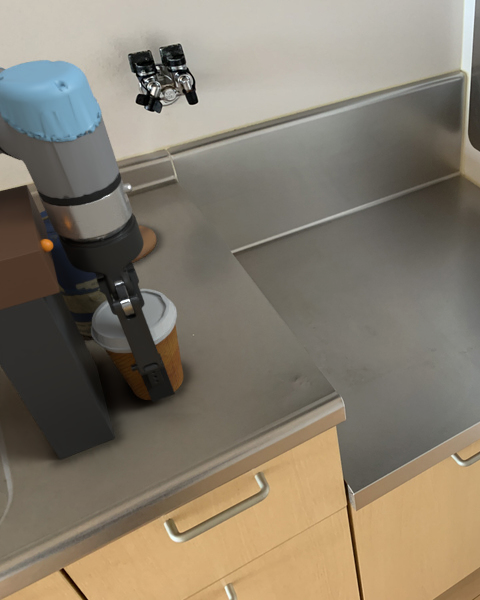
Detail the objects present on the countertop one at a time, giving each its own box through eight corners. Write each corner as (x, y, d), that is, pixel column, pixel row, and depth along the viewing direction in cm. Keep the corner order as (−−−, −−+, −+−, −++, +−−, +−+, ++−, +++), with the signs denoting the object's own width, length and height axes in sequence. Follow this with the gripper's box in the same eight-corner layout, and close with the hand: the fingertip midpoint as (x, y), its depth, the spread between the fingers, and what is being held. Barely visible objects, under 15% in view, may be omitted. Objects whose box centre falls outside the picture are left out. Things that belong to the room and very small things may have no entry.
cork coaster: (70, 255, 99) (69, 253, 98) (121, 221, 106) (120, 218, 106) (122, 274, 95) (121, 271, 95) (170, 237, 102) (170, 234, 102)
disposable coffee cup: (189, 408, 75) (164, 339, 67) (110, 413, 75) (75, 344, 67) (202, 352, 82) (181, 284, 74) (129, 356, 82) (100, 288, 74)
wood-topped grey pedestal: (115, 360, 81) (36, 182, 63) (136, 430, 73) (50, 247, 55) (47, 384, 78) (-57, 203, 60) (60, 459, 70) (-57, 275, 52)
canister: (132, 340, 84) (88, 232, 72) (61, 343, 84) (5, 235, 72) (148, 294, 91) (111, 190, 79) (83, 297, 91) (36, 192, 79)
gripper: (156, 267, 57) (207, 418, 72) (115, 168, 71) (165, 313, 86) (70, 292, 54) (141, 445, 69) (44, 184, 68) (108, 331, 83)
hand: (154, 371), depth 77 cm, fingers closed on disposable coffee cup, 8 cm apart
